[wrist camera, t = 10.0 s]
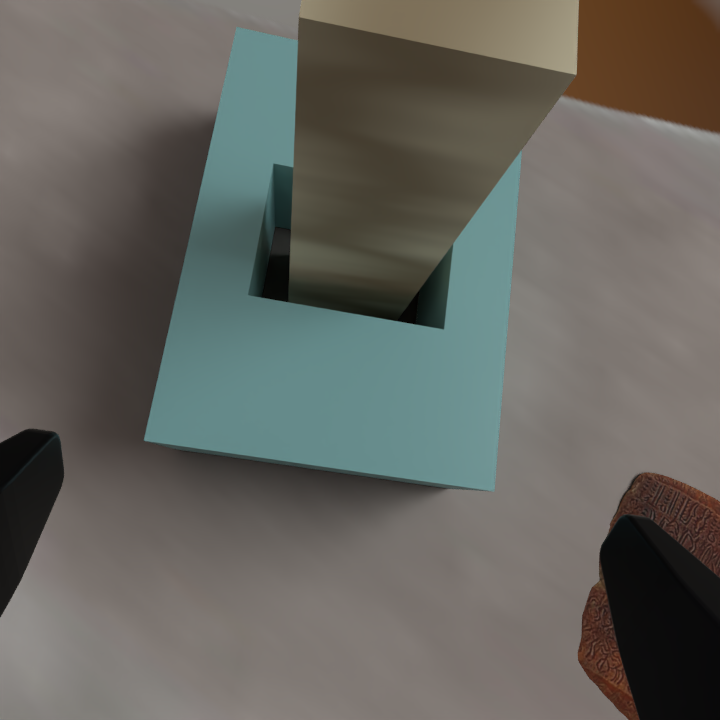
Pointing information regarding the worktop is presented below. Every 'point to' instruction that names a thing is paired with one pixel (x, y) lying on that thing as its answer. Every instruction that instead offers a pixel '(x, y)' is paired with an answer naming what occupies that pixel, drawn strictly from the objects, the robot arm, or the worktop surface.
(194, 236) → the end cap
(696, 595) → the robot arm
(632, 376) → the worktop surface
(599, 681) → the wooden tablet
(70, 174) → the worktop surface
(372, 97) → the slat
